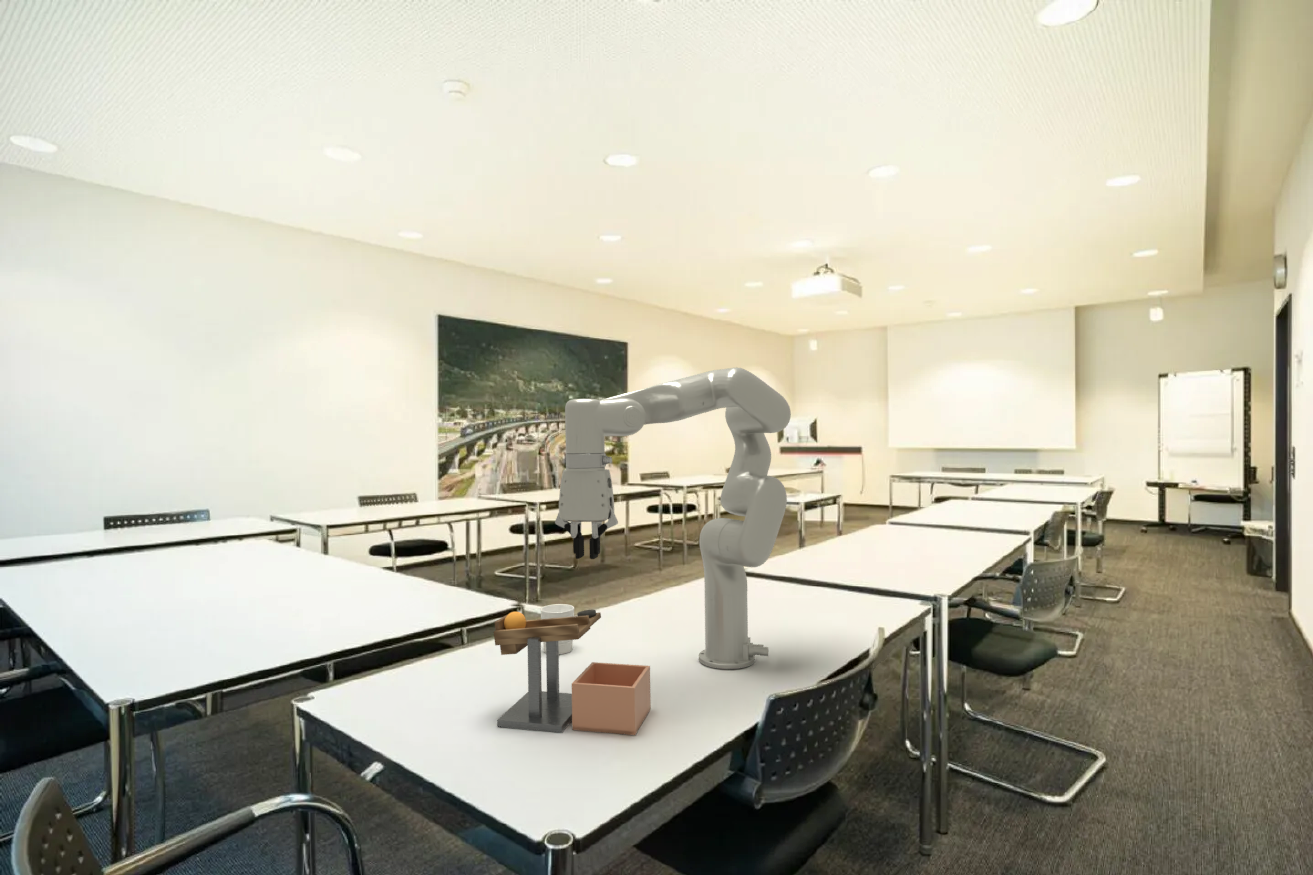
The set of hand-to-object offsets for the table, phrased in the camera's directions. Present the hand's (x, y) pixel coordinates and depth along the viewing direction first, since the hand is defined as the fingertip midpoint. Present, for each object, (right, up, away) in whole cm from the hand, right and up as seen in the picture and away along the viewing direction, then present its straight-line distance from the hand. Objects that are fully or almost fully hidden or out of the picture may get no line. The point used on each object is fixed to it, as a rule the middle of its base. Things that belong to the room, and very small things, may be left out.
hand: (586, 557), depth 132 cm
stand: (-7, -27, -7) cm, 29 cm away
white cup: (-10, -27, +29) cm, 41 cm away
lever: (-6, -15, -4) cm, 17 cm away
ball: (-13, -11, -6) cm, 18 cm away
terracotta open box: (+6, -27, -10) cm, 30 cm away
